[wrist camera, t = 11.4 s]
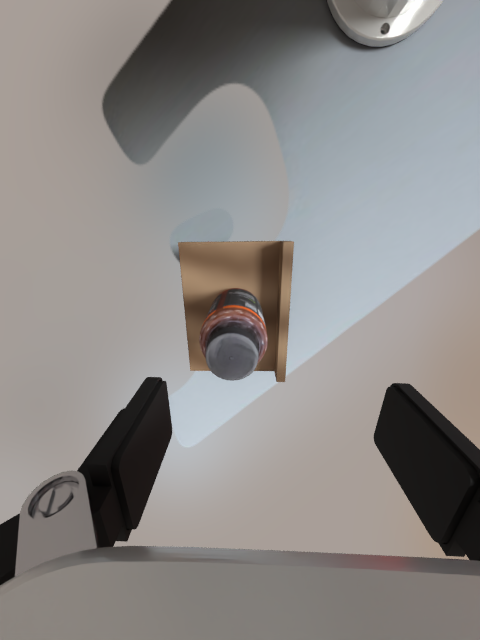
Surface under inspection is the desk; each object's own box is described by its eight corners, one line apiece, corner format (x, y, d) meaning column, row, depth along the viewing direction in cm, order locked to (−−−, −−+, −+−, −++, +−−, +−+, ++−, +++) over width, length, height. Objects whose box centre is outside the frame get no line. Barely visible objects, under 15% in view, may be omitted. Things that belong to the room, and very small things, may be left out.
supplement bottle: (212, 333, 29) (191, 391, 18) (211, 285, 27) (187, 318, 16) (260, 335, 29) (268, 393, 18) (263, 287, 27) (274, 321, 16)
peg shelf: (191, 241, 31) (171, 243, 23) (281, 240, 31) (293, 241, 23) (199, 349, 36) (186, 381, 28) (276, 349, 36) (284, 381, 28)
